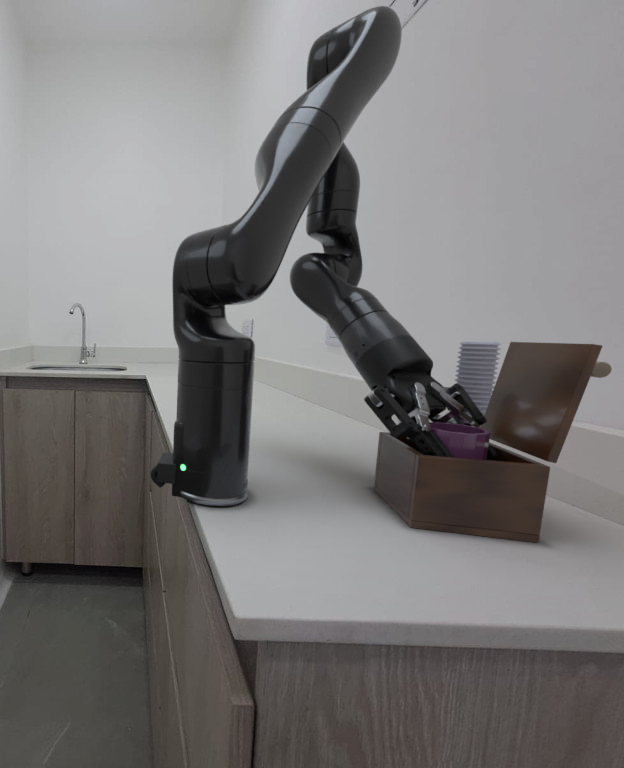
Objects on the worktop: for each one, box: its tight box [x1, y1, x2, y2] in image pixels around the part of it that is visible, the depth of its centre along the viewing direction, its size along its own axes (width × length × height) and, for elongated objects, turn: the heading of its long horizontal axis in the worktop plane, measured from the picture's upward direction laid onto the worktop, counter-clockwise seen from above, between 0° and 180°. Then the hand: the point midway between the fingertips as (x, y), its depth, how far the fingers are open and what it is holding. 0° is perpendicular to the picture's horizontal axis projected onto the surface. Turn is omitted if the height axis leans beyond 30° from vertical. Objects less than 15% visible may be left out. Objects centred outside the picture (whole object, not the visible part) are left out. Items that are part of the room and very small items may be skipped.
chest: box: [373, 431, 551, 543], centre depth 47 cm, size 11×11×8 cm
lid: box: [480, 341, 612, 464], centre depth 43 cm, size 12×11×4 cm
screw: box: [450, 341, 502, 428], centre depth 55 cm, size 8×8×20 cm
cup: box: [420, 421, 490, 460], centre depth 47 cm, size 6×6×9 cm
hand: (467, 463), depth 45 cm, fingers closed on cup, 6 cm apart
